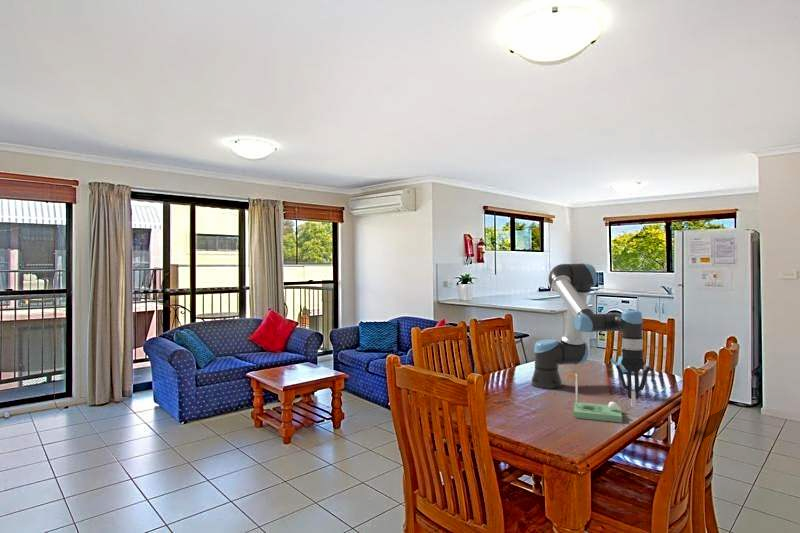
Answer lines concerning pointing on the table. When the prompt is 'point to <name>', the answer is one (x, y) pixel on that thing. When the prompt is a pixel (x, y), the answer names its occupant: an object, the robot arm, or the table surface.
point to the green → (594, 409)
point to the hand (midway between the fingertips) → (633, 406)
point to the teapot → (622, 365)
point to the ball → (612, 406)
